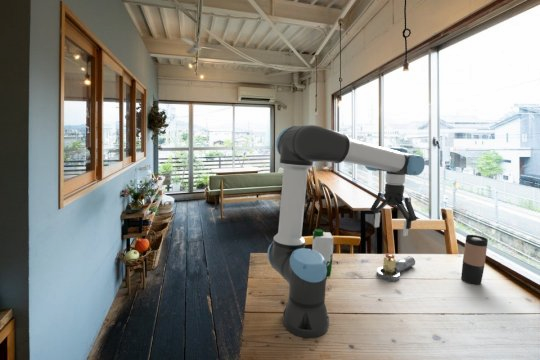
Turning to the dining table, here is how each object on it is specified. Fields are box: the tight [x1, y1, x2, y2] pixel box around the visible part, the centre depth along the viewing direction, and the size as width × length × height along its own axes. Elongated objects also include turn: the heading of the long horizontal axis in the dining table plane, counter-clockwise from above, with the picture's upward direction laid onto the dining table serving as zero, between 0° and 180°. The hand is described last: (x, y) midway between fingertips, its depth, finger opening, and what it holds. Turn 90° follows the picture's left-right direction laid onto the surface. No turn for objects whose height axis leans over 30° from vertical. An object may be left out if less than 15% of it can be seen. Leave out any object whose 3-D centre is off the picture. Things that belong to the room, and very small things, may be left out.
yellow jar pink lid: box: [382, 253, 397, 276], centre depth 124 cm, size 5×5×10 cm
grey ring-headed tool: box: [376, 255, 416, 282], centre depth 128 cm, size 24×9×5 cm, turn 125°
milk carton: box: [311, 228, 334, 277], centre depth 125 cm, size 9×9×20 cm
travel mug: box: [460, 234, 489, 286], centre depth 120 cm, size 8×8×20 cm
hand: (390, 231), depth 122 cm, fingers open, 13 cm apart
